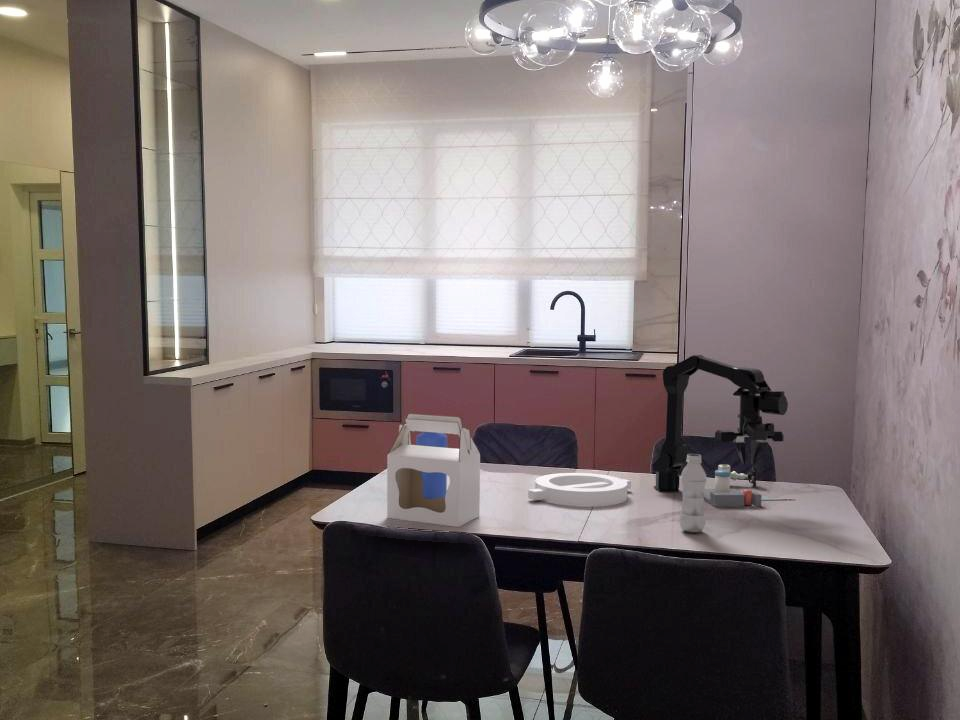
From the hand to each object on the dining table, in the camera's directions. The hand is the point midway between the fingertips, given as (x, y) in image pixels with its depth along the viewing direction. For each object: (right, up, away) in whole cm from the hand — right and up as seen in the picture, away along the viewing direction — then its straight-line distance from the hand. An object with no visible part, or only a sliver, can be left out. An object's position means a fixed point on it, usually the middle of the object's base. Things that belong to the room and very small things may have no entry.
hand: (748, 464), depth 248 cm
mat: (+10, -11, +12) cm, 20 cm away
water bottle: (-93, -11, +4) cm, 94 cm away
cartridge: (-5, -11, +11) cm, 16 cm away
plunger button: (0, -12, +1) cm, 12 cm away
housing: (-4, -11, +8) cm, 15 cm away
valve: (+5, -11, +28) cm, 31 cm away
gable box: (-91, -12, -17) cm, 94 cm away
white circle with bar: (-48, -12, +11) cm, 50 cm away
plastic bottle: (-24, -14, -30) cm, 41 cm away
